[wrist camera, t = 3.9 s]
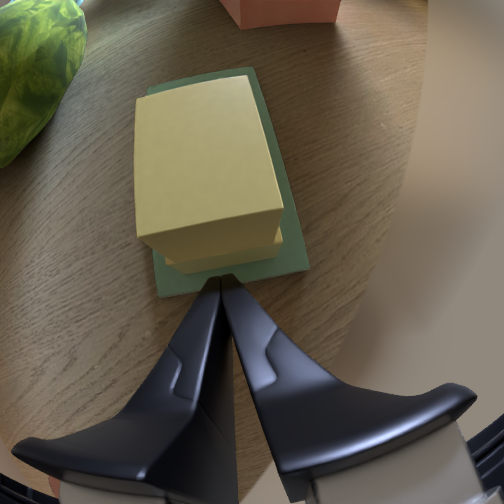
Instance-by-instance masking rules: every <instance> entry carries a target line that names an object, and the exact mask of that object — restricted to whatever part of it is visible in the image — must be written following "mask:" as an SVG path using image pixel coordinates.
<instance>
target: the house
mask: <svg viewBox="0 0 504 504" xmlns="http://www.w3.org/2000/svg"><path fill="white" fill-rule="evenodd" d="M220 2H221V3H222V4H223V6H224V7H225V8H226V10H227V11H228V12H229V14H230V15H231V17H232V18H233V19H234V21H235V22H236V24H237V25H238V26H239V28H240V29H241V30H244V29H250V28H257V27H265V26H273V25H283V24H296V23H321V22H336V18H337V14H338V10H339V6H340V2H341V0H220Z"/></svg>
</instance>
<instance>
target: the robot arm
mask: <svg viewBox="0 0 504 504" xmlns="http://www.w3.org/2000/svg"><path fill="white" fill-rule="evenodd" d="M232 337H233V340H234V343H235V346H236V350H237V353H238V356H239V359H240V362H241V366H242V369H243V372H244V375H245V378H246V381H247V384H248V387H249V390H250V393H251V396H252V399H253V402H254V405H255V408H256V411H257V414H258V417H259V420H260V423H261V426H262V429H263V431H264V434H265V437H266V440H267V443H268V446H269V448H270V451H271V454H272V457H273V459H274V462H275V465H276V468H277V471H278V474H279V477H280V479H281V481H282V484H283V486H284V489H285V491H286V494H287V496H288V498H289V501H290V503H294V502H299V501H303V500H305V503H306V504H504V414H503V415H501V416H500V417H499V418H498V419H497V420H495V421H494V422H493V423H492V424H490V425H489V426H488V427H486V428H485V429H484V430H482V431H481V432H480V433H478V434H477V435H476V436H474V437H473V438H471V439H470V440H468V441H467V442H466V441H465V439H464V436H463V434H462V432H461V430H460V428H459V426H458V424H457V423H456V420H457V419H458V418H459V417H460V416H461V415H462V414H463V413H464V412H465V411H466V410H467V409H468V408H469V407H470V406H471V405H472V404H473V403H474V402H475V401H476V399H477V395H476V394H475V393H474V392H473V391H472V390H470V389H469V388H467V387H465V386H461V385H458V384H455V383H446V384H443V385H441V386H439V387H437V388H435V389H433V390H431V391H429V392H427V393H424V394H421V395H416V396H399V395H394V394H388V393H383V392H378V391H373V390H368V389H363V388H359V387H355V386H351V385H349V384H346V383H344V382H343V381H341V380H339V379H338V378H336V377H335V376H334V375H332V374H331V373H330V372H329V371H327V370H326V369H325V368H324V367H322V366H321V365H320V364H319V363H317V362H316V361H315V360H314V359H312V358H311V357H310V356H309V355H307V354H306V353H305V352H304V351H303V350H302V349H301V348H299V347H298V346H297V345H296V344H295V343H294V342H293V341H292V340H291V339H290V338H289V337H288V336H287V335H286V334H285V333H284V331H283V330H282V329H281V328H280V327H279V326H278V325H277V324H276V323H275V321H274V320H273V319H272V318H271V317H270V316H269V315H268V313H267V312H266V311H265V310H264V309H263V308H262V306H261V305H260V304H259V303H258V302H257V301H256V300H255V298H254V297H253V296H252V295H251V294H250V293H249V291H248V290H247V289H246V288H245V287H244V286H243V284H242V283H241V282H240V281H239V280H238V279H237V277H236V276H235V275H234V274H233V273H229V274H224V275H222V276H213V277H209V278H208V279H207V281H206V282H205V284H204V286H203V287H202V289H201V290H200V292H199V294H198V295H197V297H196V299H195V300H194V302H193V304H192V305H191V307H190V308H189V310H188V312H187V313H186V315H185V317H184V318H183V320H182V322H181V323H180V325H179V327H178V328H177V330H176V332H175V333H174V335H173V337H172V338H171V340H170V342H169V343H168V346H167V347H166V348H165V350H164V352H163V353H162V355H161V357H160V358H159V360H158V361H157V363H156V365H155V366H154V368H153V369H152V370H151V372H150V373H149V375H148V376H147V377H146V379H145V380H144V381H143V383H142V384H141V385H140V387H139V388H138V389H137V391H136V392H135V393H134V395H133V396H132V397H131V399H130V400H129V401H128V403H127V404H126V405H125V406H124V408H123V409H122V410H121V411H120V412H119V413H118V414H116V415H115V416H114V417H112V418H111V419H108V420H106V421H104V422H101V423H99V424H96V425H94V426H91V427H89V428H86V429H84V430H81V431H78V432H76V433H73V434H70V435H67V436H65V437H61V438H57V439H51V440H45V439H39V438H36V437H28V438H26V439H23V440H21V441H20V442H18V443H17V444H16V445H15V446H14V447H13V449H12V450H11V453H12V454H13V455H14V456H15V457H17V458H18V459H20V460H21V461H23V462H25V463H26V464H28V465H30V466H32V467H34V468H36V469H38V470H39V471H41V472H43V473H45V474H47V475H50V476H52V477H54V478H56V479H58V480H60V487H59V499H57V498H55V497H52V496H49V495H46V494H44V493H41V492H39V491H36V490H34V489H32V488H29V487H27V486H25V485H23V484H21V483H19V482H17V481H15V480H13V479H10V478H9V477H7V476H5V475H3V474H1V473H0V504H239V500H238V482H237V462H236V441H235V416H234V385H233V346H232Z"/></svg>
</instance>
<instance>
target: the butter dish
mask: <svg viewBox="0 0 504 504" xmlns="http://www.w3.org/2000/svg"><path fill="white" fill-rule="evenodd" d="M244 75H247V76H248V79H249V83H250V86H251V89H252V93H253V96H254V99H255V103H256V106H257V109H258V113H259V116H260V120H261V123H262V127H263V130H264V134H265V138H266V141H267V145H268V149H269V152H270V156H271V160H272V163H273V167H274V171H275V175H276V179H277V183H278V187H279V190H280V194H281V198H282V202H283V206H284V209H283V213H282V216H281V220H280V223H279V227H278V230H277V234H276V237H275V241H274V244H271V245H266V246H261V247H256V248H251V249H245V250H240V251H235V252H230V253H224V254H219V255H214V256H209V257H204V258H198V259H193V260H188V261H183V262H178V263H174V262H172V261H171V260H169V259H168V258H166V257H165V256H163V255H162V254H160V253H159V252H157V251H156V250H154V249H153V248H152V254H153V262H154V271H155V278H156V286H157V293H158V297H162V298H166V297H172V296H177V295H183V294H189V293H195V292H200V290H201V289H202V287H203V286H204V284H205V282H206V281H207V279H208V278H209V277H213V276H222V275H224V274H229V273H233V274H234V275H235V276H236V277H237V279H238V280H239V281H240V282H241V283H242V284H243V283H249V282H254V281H259V280H264V279H269V278H274V277H279V276H284V275H289V274H294V273H299V272H303V271H307V270H308V269H310V265H309V260H308V256H307V252H306V248H305V243H304V239H303V235H302V231H301V227H300V223H299V219H298V215H297V211H296V207H295V203H294V200H293V196H292V192H291V188H290V185H289V181H288V177H287V174H286V170H285V166H284V163H283V159H282V156H281V152H280V149H279V146H278V142H277V139H276V135H275V132H274V129H273V126H272V122H271V119H270V116H269V113H268V109H267V106H266V103H265V100H264V97H263V94H262V91H261V88H260V85H259V82H258V79H257V76H256V73H255V70H254V67H253V66H250V67H242V68H235V69H228V70H222V71H216V72H210V73H205V74H200V75H195V76H190V77H186V78H182V79H177V80H173V81H169V82H165V83H162V84H158V85H154V86H151V87H147V96H149V95H152V94H156V93H159V92H163V91H167V90H171V89H175V88H179V87H183V86H188V85H192V84H197V83H202V82H207V81H212V80H218V79H224V78H230V77H237V76H244Z"/></svg>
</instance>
